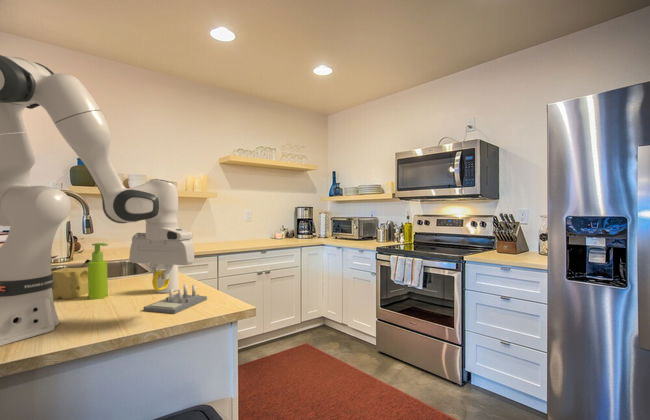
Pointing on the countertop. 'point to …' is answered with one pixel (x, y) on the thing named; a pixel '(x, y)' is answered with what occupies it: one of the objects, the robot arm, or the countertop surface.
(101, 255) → the soap dispenser
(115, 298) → the countertop surface
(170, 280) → the pill bottle
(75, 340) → the countertop surface
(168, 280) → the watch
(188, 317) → the countertop surface
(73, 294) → the cheese
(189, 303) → the gray pegged board
